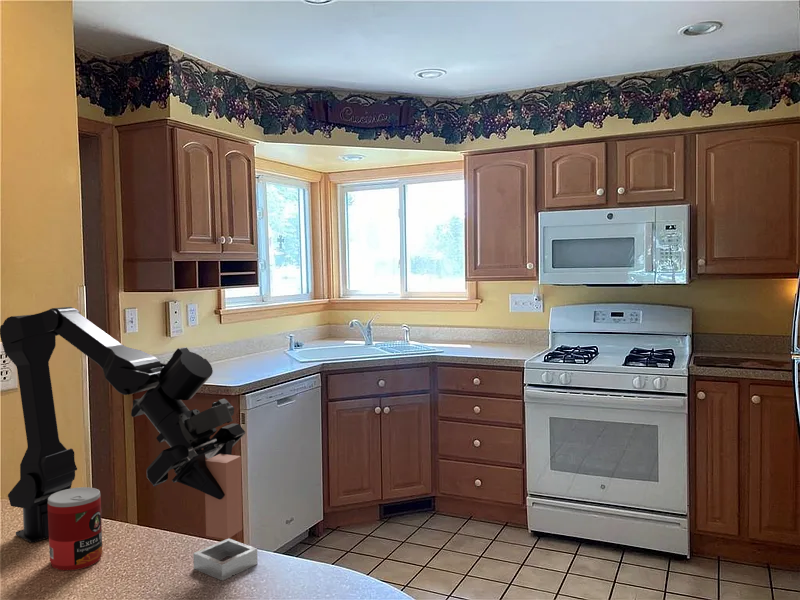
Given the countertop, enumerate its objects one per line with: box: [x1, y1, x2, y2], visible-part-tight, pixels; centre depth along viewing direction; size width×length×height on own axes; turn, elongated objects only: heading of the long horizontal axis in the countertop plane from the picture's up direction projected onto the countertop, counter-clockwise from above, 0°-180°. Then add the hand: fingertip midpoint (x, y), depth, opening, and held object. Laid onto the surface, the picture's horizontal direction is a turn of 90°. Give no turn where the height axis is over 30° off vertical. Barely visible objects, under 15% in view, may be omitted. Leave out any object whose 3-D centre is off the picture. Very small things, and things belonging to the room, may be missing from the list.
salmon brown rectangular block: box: [204, 454, 243, 540], centre depth 104 cm, size 4×4×12 cm
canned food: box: [48, 486, 103, 571], centre depth 107 cm, size 8×8×11 cm
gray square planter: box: [192, 538, 258, 581], centre depth 105 cm, size 7×7×2 cm
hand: (230, 493), depth 104 cm, fingers closed on salmon brown rectangular block, 4 cm apart
